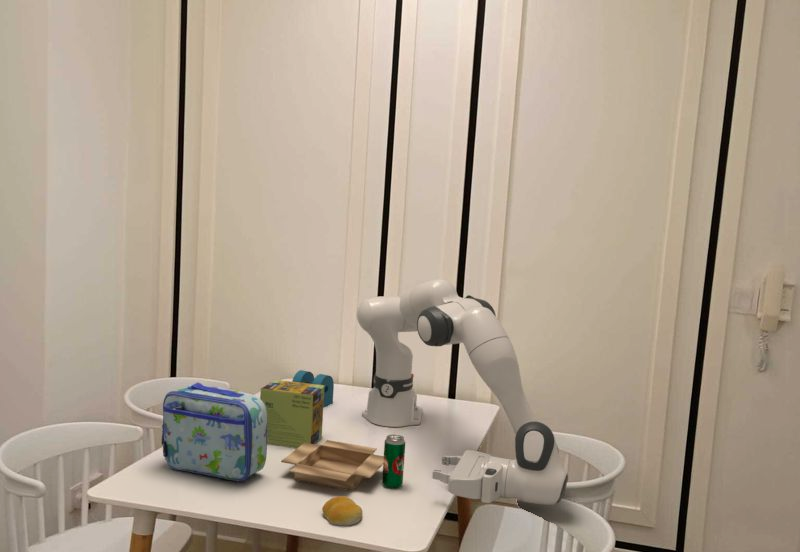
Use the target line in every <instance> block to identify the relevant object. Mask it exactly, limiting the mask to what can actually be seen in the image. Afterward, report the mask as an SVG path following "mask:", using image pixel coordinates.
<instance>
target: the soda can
mask: <svg viewBox="0 0 800 552" xmlns="http://www.w3.org/2000/svg"><path fill="white" fill-rule="evenodd" d="M405 454H406V440H405V437H404V436H403V435H400V434H388V435H387V436H386V438H385V440H384V445H383V456H384V459H383V464H382V474H381V476H382V478H381V479H382V480H381V483H382V485H383V486H384V487H385V488H389V489H397V488H400V487H401V486H402V485H403V483H404V470H405V469H404V468H405Z"/></svg>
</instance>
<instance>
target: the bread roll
mask: <svg viewBox="0 0 800 552" xmlns="http://www.w3.org/2000/svg"><path fill="white" fill-rule="evenodd" d="M321 509H322V514H323V516H324V518H326V520H328V522H329V523H330V524H332V525H336V526H353V525H355V524H358V523H359V522H360V521H361V519H362V518H363V509H362V507H361V506H359V505H358V504H357V503H356V502H355V501H354V500H353V499H352V498H351V497H348V496H344V495H340V496H339V495H337V496H334V497H332V498H330V499H328V500H327V501H326V502H325V503H324V504H323V506H322V508H321Z"/></svg>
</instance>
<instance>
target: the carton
mask: <svg viewBox="0 0 800 552" xmlns="http://www.w3.org/2000/svg"><path fill="white" fill-rule="evenodd" d="M377 450H378V447H377V448H376V447H371V446H366V445H360V444H353V443H347V442H341V441H335V440H328V439H326V440H325V441H324V442H322V444H310V443H304V444H302V445H301V446H300V447H298V448H295V449H294V450H293V451H292V452H290V453H289V454H288V455H287V456H285V457H284V458H283V459H282V460H280V462H281V463H284V464H290V465H294V467H292V468H291V469H290V470H289V471H290V473H294V481H297V482H303V483H307V484H313V485H317V486H323V487H329V488H334V489H338V490H344V491H350V492H353V491H354V490H356V488H357V487H358V486H359V485H360V484H361V483H362V482H363V480H364V479H365V478H366V479H371V478H372V477H373V476H374V475H375V474H376V473H377V471H378V470H379V469H380V468H381V467H383V459H384V455H378V454H374V453H375V452H377Z"/></svg>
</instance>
